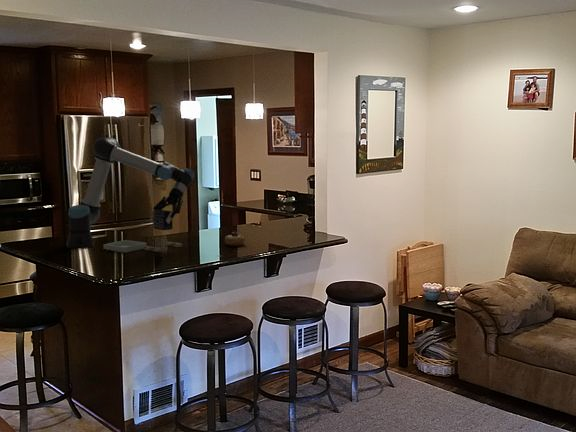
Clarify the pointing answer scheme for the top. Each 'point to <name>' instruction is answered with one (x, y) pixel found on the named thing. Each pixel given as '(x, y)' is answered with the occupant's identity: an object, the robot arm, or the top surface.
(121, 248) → the tray
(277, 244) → the top surface
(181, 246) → the oak cradle
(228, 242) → the pumpkin
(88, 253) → the top surface
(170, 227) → the small box
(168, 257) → the top surface
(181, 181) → the robot arm
